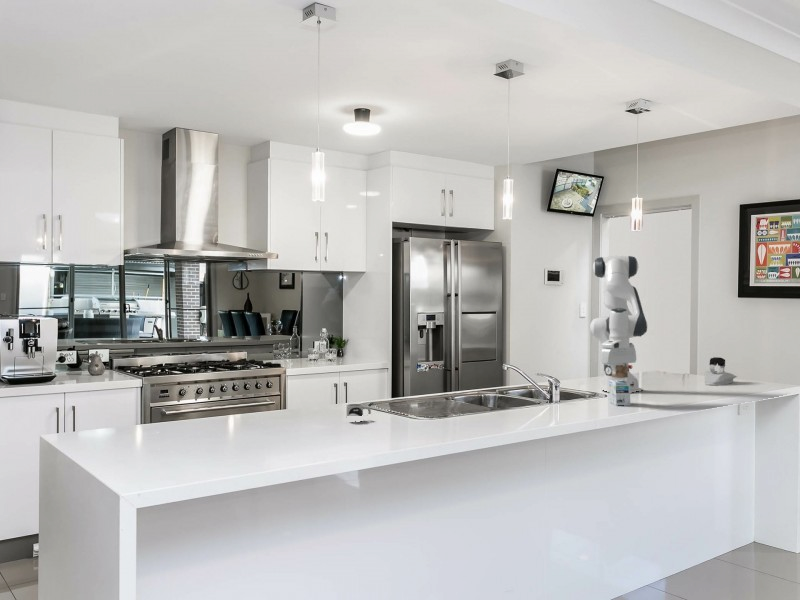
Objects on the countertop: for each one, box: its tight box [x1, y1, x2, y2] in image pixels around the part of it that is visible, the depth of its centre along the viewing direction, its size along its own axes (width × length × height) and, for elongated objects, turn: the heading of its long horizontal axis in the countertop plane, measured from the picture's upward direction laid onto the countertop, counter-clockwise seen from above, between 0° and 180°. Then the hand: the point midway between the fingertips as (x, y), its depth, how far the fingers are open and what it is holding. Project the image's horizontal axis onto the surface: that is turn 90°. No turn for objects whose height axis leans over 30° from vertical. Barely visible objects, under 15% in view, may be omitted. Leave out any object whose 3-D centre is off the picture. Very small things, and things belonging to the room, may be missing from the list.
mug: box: [345, 403, 372, 417], centre depth 281 cm, size 10×7×7 cm, turn 105°
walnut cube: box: [612, 366, 628, 378], centre depth 319 cm, size 5×5×5 cm
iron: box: [704, 356, 738, 386], centre depth 393 cm, size 11×24×15 cm, turn 134°
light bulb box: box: [609, 380, 631, 407], centre depth 319 cm, size 11×7×11 cm, turn 179°
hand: (619, 373), depth 319 cm, fingers closed on walnut cube, 5 cm apart
